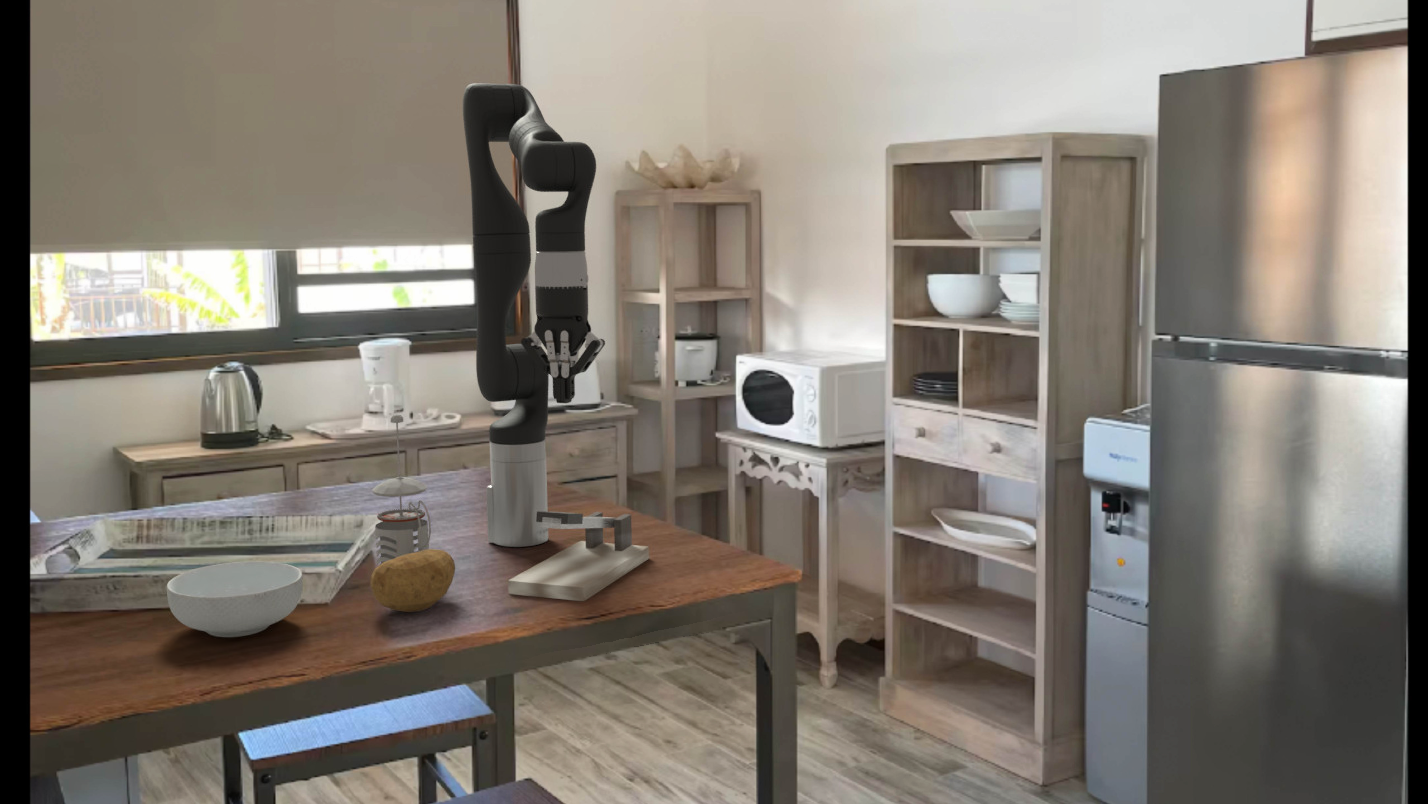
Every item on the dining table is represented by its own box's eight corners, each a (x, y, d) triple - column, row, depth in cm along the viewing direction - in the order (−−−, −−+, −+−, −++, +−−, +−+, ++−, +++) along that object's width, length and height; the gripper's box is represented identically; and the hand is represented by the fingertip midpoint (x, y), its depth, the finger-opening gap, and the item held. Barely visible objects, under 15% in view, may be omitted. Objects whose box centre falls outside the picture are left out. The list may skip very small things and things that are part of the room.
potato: (476, 599, 183) (474, 544, 182) (410, 627, 171) (408, 569, 170) (422, 590, 188) (420, 537, 187) (354, 617, 175) (352, 560, 174)
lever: (535, 526, 185) (536, 511, 186) (595, 525, 205) (596, 511, 205) (566, 529, 184) (568, 513, 184) (624, 527, 203) (625, 513, 203)
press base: (508, 593, 186) (507, 546, 185) (580, 552, 208) (579, 510, 207) (583, 601, 182) (582, 553, 181) (648, 558, 204) (648, 515, 203)
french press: (414, 564, 202) (407, 407, 199) (456, 578, 194) (449, 415, 191) (358, 576, 196) (350, 414, 192) (398, 591, 187) (390, 423, 184)
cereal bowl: (170, 656, 161) (166, 601, 160) (168, 619, 176) (165, 569, 175) (311, 637, 167) (308, 585, 166) (298, 603, 182) (295, 555, 181)
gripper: (507, 284, 183) (511, 404, 185) (591, 285, 178) (594, 408, 181) (532, 281, 190) (535, 397, 192) (614, 282, 185) (616, 400, 188)
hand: (564, 402), depth 187 cm, fingers closed
